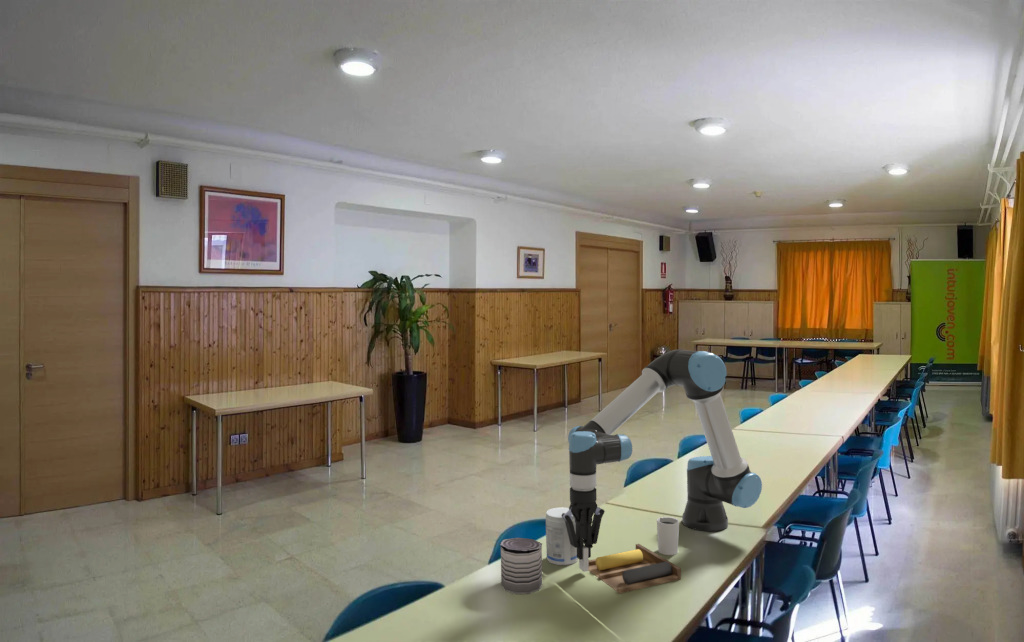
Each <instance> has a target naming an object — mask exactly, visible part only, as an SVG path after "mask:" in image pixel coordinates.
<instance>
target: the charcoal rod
mask: <svg viewBox="0 0 1024 642" xmlns="http://www.w3.org/2000/svg"><path fill="white" fill-rule="evenodd" d="M669 562H670V561H669ZM669 562H662V563H658V564H653V565H648V566H644V567H639V568H635V569H630V570H625V571H623V574H622V577H623V580H624V582H625V584H627V585H628V584H633V583H637V582H641V581H646V580H650V579H655V578H659V577H663V576H668V575H671V574H672V567H671V565H670V563H669Z"/></svg>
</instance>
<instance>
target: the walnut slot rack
mask: <svg viewBox="0 0 1024 642" xmlns="http://www.w3.org/2000/svg"><path fill="white" fill-rule="evenodd" d="M636 549H639V550H641V552H642V554H643V561H642V562H638V563H634V564H629V565H624V566H619V567H615V568H610V569H605V570H601V571H600V570H598V569H597V566H596V558H594V559H588V562H589V571H588V572H590V573H592V574H593V575H594V576H595V577H597V578H598V579H600V581H602V582H604V583H605V584H606V585H607V586H609V587H610V588H612V589H613V590H615V591H616V592H617V593H619V594H624V593H627V592H632V591H636V590H640V589H644V588H648V587H654V586H657V585H662V584H666V583H670V582H674V581H679V580H681V579H682V568H681V567H679V566H678V565H676V564H674V563H672V562H671V561H669V560H667V559H666V558H664V557H662V556H661V555H660V554H657V553H656V552H654V551H652V550H651V549H648V548H647V547H645V546H644V545H642V544H640V543H635V550H636ZM662 562H669V563H670V565H671V567H672V574H671V575H668V576H663V577H659V578H655V579H650V580H646V581H641V582H637V583H633V584H628V585H627V584H625V582H624V580H623V577H622V574H623V571H625V570H630V569H635V568H639V567H644V566H648V565H653V564H658V563H662Z"/></svg>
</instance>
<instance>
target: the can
mask: <svg viewBox="0 0 1024 642" xmlns="http://www.w3.org/2000/svg"><path fill="white" fill-rule="evenodd" d="M542 545H543V543H542V542H540V541H538V540H535V539H534V538H533V539H532V538H524V537H513V538H505V539H503V540H501V542H500V543H499V546H500V572H501V573H500V574H501V575H500V576H501V577H500V583H501V584H500V585H501V587H502V589H503V590H504V591H505V592H508V593H511V594H513V595H530V594H533V593H535V592H538V591H540V589H541V587H542V585H543V553H542V551H543V550H542V549H543V547H542Z"/></svg>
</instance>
